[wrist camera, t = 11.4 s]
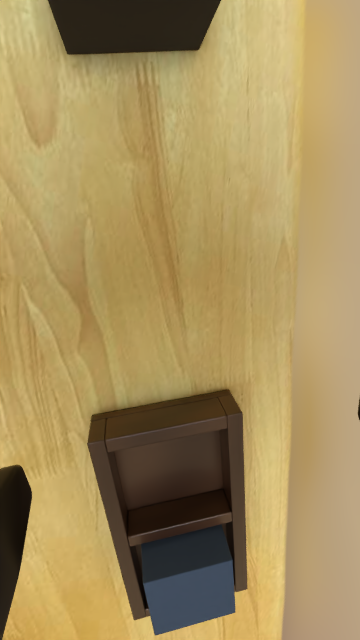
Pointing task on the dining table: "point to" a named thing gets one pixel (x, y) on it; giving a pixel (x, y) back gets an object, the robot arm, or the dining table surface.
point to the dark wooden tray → (171, 479)
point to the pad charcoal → (132, 24)
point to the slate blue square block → (188, 578)
